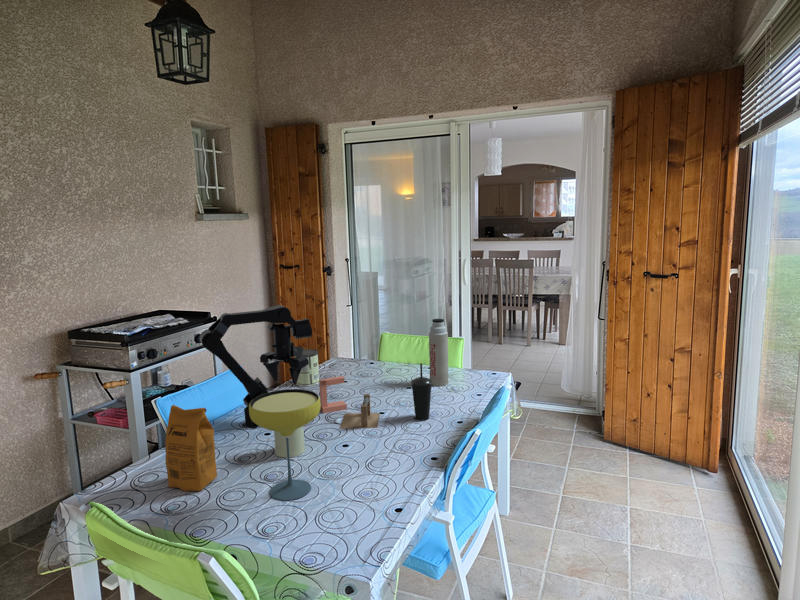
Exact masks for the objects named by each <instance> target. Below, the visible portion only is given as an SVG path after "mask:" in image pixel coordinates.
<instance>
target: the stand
mask: <svg viewBox="0 0 800 600" xmlns="http://www.w3.org/2000/svg"><path fill="white" fill-rule="evenodd" d="M380 416H381V412H372V411H371V394H370V393H364V394H363V402H362V404H361V405H360V412H355V413H354V412H353V413H351V412H350V413H348V412H347V413H344V415H343V417H342V420H341V423H340V425H339V427H338V428H339V430H340V429H378V428H379V427H378V426H379V424H380V423H379V422H380Z"/></svg>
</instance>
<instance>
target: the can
mask: <svg viewBox="0 0 800 600" xmlns="http://www.w3.org/2000/svg"><path fill="white" fill-rule="evenodd" d="M304 430H305V429H304V426H302V427H300V428H298V429H296V430H295V431H294V432H293V434H292V435H291V436H290V437H289V454H290V458H295V457H299V456H302V454H304V453H305V452H306V447H305V433H304V432H305V431H304ZM273 432H274V433H273V434H274V435H273V436H274V454H275V455H276V456H277V457H280V458H282V459H283V458H284V459H285V458H286V459H287V445H286V438H284V437H283V436H282V435H281V434H280V433H279V432H277V431H273Z"/></svg>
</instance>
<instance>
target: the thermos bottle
mask: <svg viewBox="0 0 800 600" xmlns="http://www.w3.org/2000/svg"><path fill="white" fill-rule="evenodd" d="M431 322H432V323H431V324H432V325H431V326H429V332H428V348H429V349H428V353H429V355H428V356H429V379H431V380H432V385H431V386H433V387H444V386H448V385H449V335H448V333H449V332H448V331H447V327H446V326H445V323H444V322H445V320H444V319H443V318H434V319H432V321H431Z"/></svg>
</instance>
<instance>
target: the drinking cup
mask: <svg viewBox="0 0 800 600" xmlns="http://www.w3.org/2000/svg"><path fill="white" fill-rule="evenodd" d="M419 366H420V370H419V373H420V377H415V378H413V379H411V380H410V384H411V390H412V399H413V406H414V414H415V416H414V417H415V420H418V421H427V420H429V419H430V411H431V396H432V386H433V385H432V380H431V379H430V378H428V377H426V376H423V363H419Z"/></svg>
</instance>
